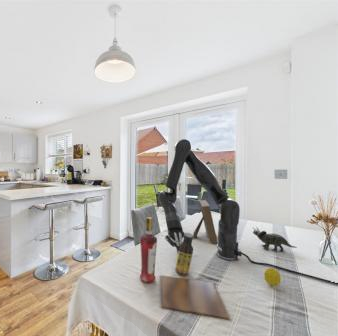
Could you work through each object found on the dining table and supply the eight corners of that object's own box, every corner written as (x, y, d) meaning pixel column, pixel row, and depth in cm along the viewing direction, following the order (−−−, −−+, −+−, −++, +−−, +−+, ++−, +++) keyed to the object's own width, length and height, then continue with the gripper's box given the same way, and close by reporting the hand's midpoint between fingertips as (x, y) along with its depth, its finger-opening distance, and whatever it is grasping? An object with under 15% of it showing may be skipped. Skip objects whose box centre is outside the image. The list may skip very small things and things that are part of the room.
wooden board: (212, 284, 85) (212, 282, 85) (229, 319, 66) (229, 317, 66) (161, 276, 90) (161, 275, 90) (162, 307, 71) (162, 306, 71)
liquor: (144, 273, 93) (146, 214, 92) (158, 279, 88) (160, 217, 87) (136, 280, 87) (137, 218, 86) (150, 286, 83) (152, 221, 82)
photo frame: (212, 233, 149) (213, 200, 148) (217, 244, 128) (219, 206, 128) (191, 230, 154) (192, 199, 153) (193, 240, 133) (194, 204, 132)
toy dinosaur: (296, 253, 118) (297, 234, 117) (296, 257, 111) (297, 238, 111) (252, 242, 133) (253, 226, 132) (250, 246, 126) (251, 228, 126)
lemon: (275, 291, 81) (276, 272, 81) (261, 283, 86) (261, 266, 86) (283, 288, 83) (283, 269, 83) (268, 281, 89) (269, 263, 88)
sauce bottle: (174, 273, 92) (179, 236, 88) (175, 265, 98) (180, 229, 93) (189, 278, 90) (195, 239, 85) (189, 269, 96) (195, 232, 91)
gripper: (163, 218, 104) (169, 252, 92) (187, 219, 105) (197, 252, 93) (160, 225, 110) (166, 257, 98) (183, 225, 110) (192, 257, 98)
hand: (181, 254), depth 95 cm, fingers closed
